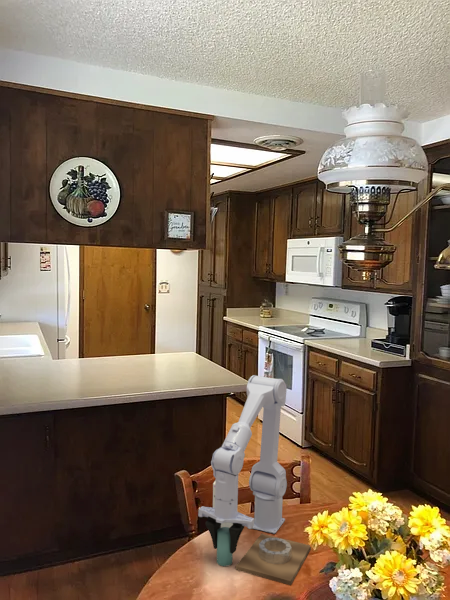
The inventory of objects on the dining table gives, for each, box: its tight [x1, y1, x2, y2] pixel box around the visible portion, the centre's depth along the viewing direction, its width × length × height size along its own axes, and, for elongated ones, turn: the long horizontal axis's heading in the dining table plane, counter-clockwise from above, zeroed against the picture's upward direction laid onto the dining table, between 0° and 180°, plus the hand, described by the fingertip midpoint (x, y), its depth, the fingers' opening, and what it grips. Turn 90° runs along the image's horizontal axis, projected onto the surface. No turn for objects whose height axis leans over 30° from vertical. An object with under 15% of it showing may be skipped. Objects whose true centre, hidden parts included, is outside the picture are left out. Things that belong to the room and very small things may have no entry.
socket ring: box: [259, 537, 292, 564], centre depth 132 cm, size 8×8×2 cm
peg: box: [216, 527, 234, 567], centre depth 130 cm, size 4×4×8 cm
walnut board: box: [235, 533, 312, 586], centre depth 132 cm, size 18×14×1 cm
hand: (224, 549), depth 130 cm, fingers closed on peg, 4 cm apart
